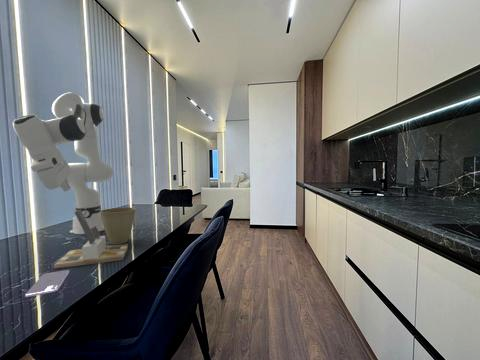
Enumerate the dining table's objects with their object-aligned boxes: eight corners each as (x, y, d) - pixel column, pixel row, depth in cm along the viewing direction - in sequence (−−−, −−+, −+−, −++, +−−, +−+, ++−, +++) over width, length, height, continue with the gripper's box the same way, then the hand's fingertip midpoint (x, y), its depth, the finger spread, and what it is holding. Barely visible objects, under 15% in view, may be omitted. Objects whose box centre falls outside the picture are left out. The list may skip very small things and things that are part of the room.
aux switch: (97, 236, 97) (92, 226, 96) (100, 235, 98) (96, 225, 97) (95, 239, 94) (90, 229, 93) (98, 237, 94) (93, 227, 93)
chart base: (70, 253, 96) (70, 249, 96) (128, 247, 103) (127, 243, 103) (54, 268, 82) (54, 264, 81) (122, 260, 89) (122, 255, 88)
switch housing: (92, 248, 97) (92, 237, 97) (106, 247, 99) (105, 235, 99) (82, 260, 85) (82, 247, 85) (97, 258, 87) (97, 245, 86)
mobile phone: (70, 268, 80) (56, 289, 66) (70, 271, 80) (57, 292, 67) (42, 273, 77) (23, 295, 63) (43, 275, 77) (23, 298, 63)
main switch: (92, 241, 91) (77, 210, 88) (96, 240, 91) (81, 209, 89) (89, 244, 87) (73, 212, 85) (93, 243, 88) (77, 210, 85)
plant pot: (134, 245, 105) (133, 211, 104) (97, 249, 101) (96, 213, 100) (138, 236, 120) (137, 206, 119) (106, 239, 115) (104, 208, 114)
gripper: (48, 154, 95) (65, 183, 101) (28, 169, 78) (51, 203, 84) (65, 150, 97) (81, 178, 103) (49, 163, 79) (70, 197, 85)
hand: (67, 189), depth 93 cm, fingers closed
